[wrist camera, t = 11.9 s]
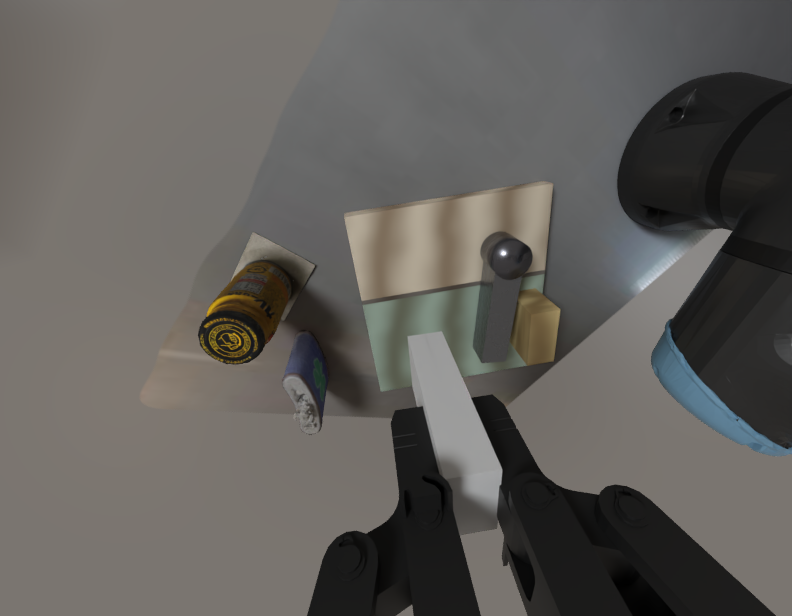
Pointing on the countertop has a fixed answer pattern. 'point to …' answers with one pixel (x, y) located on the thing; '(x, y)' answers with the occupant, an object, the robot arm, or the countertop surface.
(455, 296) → the two-tone base plate
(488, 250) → the latch bar
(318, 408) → the flask
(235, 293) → the condiment
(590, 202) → the countertop surface
